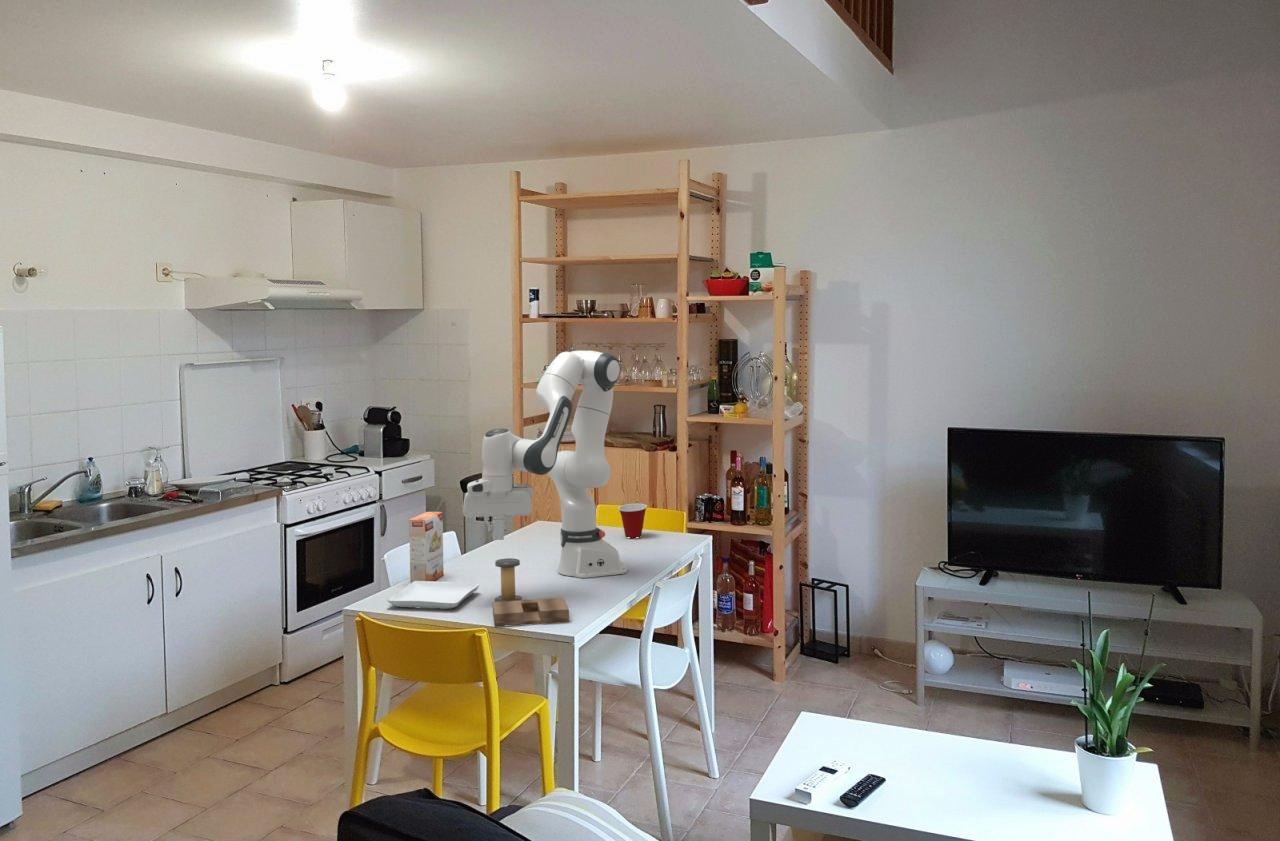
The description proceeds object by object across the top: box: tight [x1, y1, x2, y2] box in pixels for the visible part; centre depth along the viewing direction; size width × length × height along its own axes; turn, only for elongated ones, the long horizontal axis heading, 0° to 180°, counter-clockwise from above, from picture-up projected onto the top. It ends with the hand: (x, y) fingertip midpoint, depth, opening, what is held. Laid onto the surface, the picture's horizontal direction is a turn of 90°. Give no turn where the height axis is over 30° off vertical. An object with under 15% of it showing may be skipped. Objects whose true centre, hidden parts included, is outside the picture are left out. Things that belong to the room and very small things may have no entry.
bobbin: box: [494, 557, 523, 602], centre depth 298 cm, size 8×8×12 cm
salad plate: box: [386, 580, 480, 610], centre depth 303 cm, size 21×21×3 cm
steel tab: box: [492, 516, 505, 541], centre depth 304 cm, size 3×5×6 cm, turn 11°
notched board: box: [491, 597, 570, 628], centre depth 284 cm, size 20×12×4 cm, turn 101°
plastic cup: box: [617, 503, 648, 538], centre depth 386 cm, size 11×11×12 cm
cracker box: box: [408, 511, 445, 584], centre depth 326 cm, size 14×6×21 cm, turn 168°
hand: (498, 531), depth 304 cm, fingers closed on steel tab, 3 cm apart
